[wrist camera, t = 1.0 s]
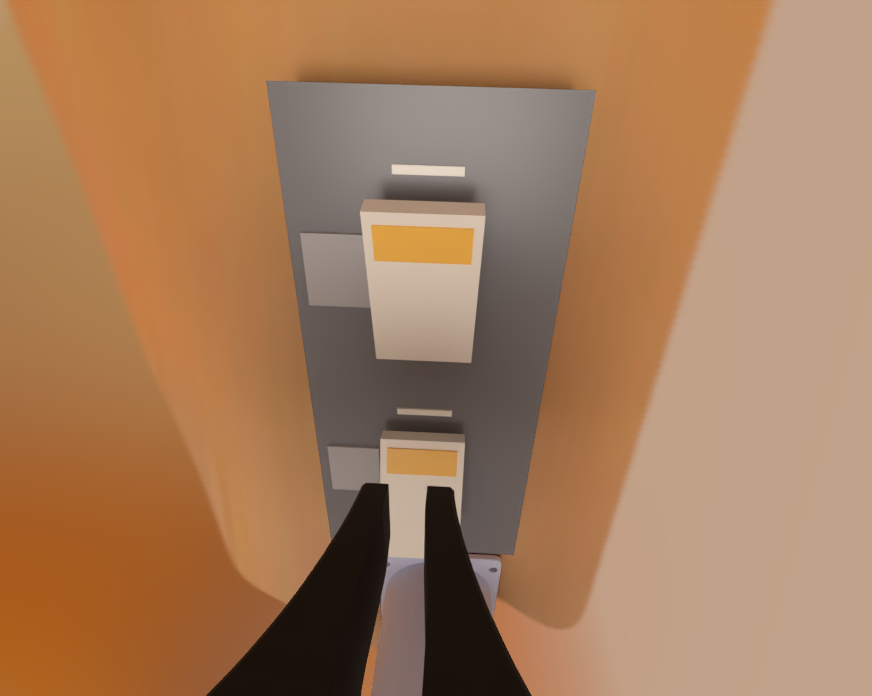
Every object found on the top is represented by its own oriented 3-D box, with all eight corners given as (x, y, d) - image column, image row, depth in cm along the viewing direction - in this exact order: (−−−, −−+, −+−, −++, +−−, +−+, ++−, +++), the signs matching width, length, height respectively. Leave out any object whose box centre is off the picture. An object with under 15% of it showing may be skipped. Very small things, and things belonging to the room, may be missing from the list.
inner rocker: (457, 548, 21) (458, 561, 20) (382, 544, 21) (379, 557, 20) (464, 434, 20) (464, 443, 19) (383, 430, 20) (380, 439, 19)
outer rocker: (470, 348, 17) (471, 364, 17) (379, 344, 17) (376, 360, 17) (485, 203, 13) (485, 217, 13) (364, 198, 13) (359, 212, 13)
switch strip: (508, 510, 27) (513, 557, 24) (344, 501, 27) (331, 547, 24) (573, 90, 16) (597, 90, 13) (296, 82, 16) (264, 80, 13)
